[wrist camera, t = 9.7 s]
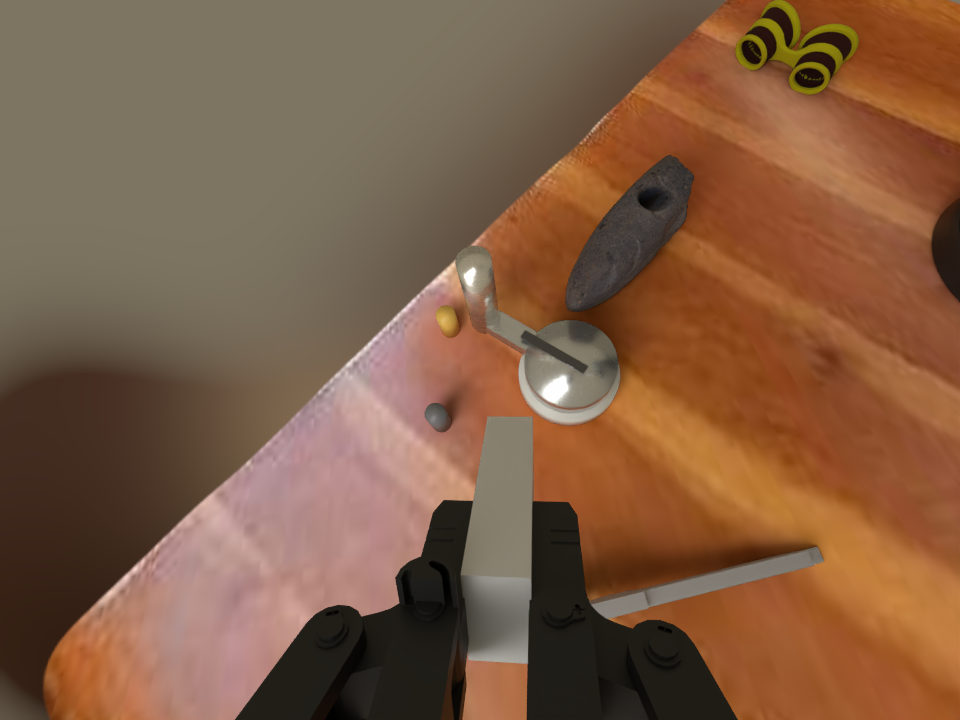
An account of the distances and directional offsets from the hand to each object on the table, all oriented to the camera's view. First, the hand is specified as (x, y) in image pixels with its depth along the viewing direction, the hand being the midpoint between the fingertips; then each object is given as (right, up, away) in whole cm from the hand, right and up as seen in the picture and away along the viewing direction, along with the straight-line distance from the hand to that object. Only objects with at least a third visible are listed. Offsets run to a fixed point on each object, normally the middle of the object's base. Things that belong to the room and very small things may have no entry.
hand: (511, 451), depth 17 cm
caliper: (+13, -13, +18) cm, 26 cm away
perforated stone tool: (+11, +12, +28) cm, 32 cm away
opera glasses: (+30, +33, +34) cm, 56 cm away
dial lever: (+4, +4, +23) cm, 24 cm away
